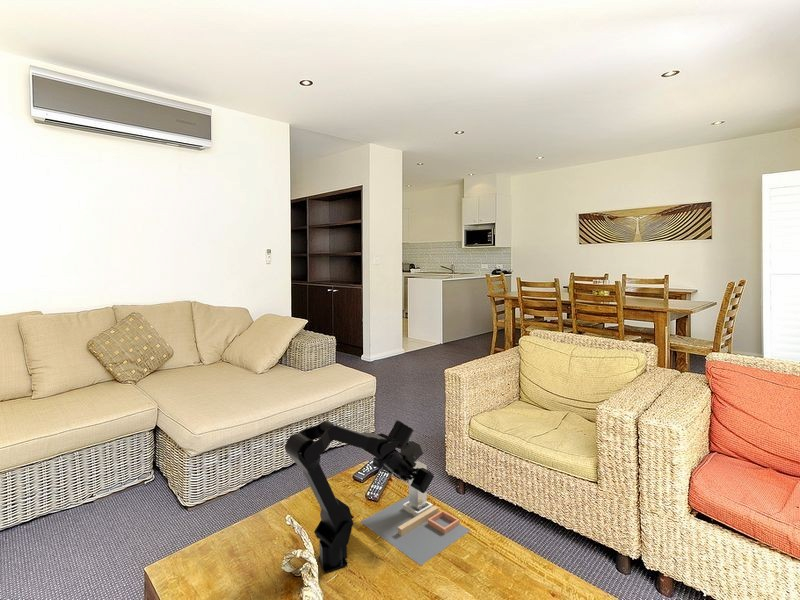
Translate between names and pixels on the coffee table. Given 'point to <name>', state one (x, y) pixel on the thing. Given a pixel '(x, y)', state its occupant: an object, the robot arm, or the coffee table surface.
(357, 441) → the robot arm
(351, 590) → the coffee table surface
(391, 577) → the coffee table surface
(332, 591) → the coffee table surface
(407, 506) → the socket
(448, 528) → the socket
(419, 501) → the block
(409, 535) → the door board
